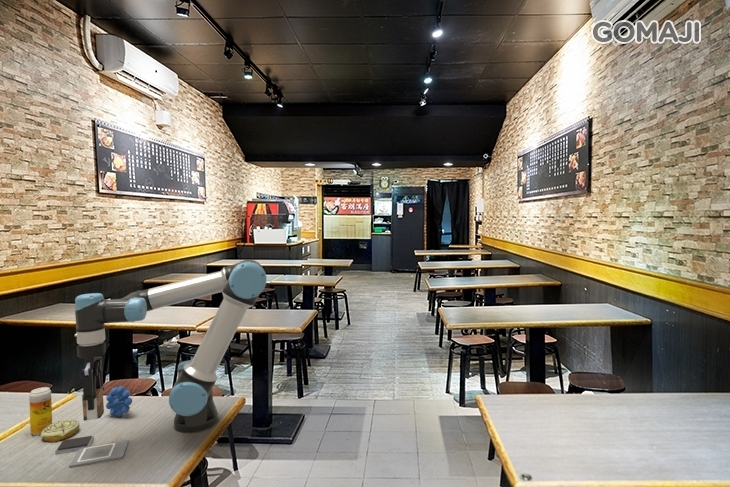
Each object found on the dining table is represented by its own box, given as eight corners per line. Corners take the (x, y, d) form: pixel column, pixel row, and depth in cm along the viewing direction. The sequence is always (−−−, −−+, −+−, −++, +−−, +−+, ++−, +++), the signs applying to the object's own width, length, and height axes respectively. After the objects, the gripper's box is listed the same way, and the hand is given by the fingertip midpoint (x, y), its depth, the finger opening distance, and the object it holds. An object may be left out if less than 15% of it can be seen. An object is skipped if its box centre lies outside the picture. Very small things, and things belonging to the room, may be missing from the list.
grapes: (140, 413, 161) (140, 383, 160) (126, 421, 154) (125, 389, 154) (116, 410, 164) (115, 380, 163) (101, 417, 157) (100, 386, 157)
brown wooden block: (104, 412, 135) (102, 388, 135) (100, 418, 131) (98, 393, 130) (87, 414, 133) (86, 390, 133) (83, 420, 129) (82, 395, 129)
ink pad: (93, 438, 142) (93, 434, 142) (88, 448, 135) (88, 444, 135) (62, 443, 139) (62, 439, 139) (55, 454, 132) (55, 450, 132)
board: (128, 441, 140) (128, 439, 140) (122, 458, 130) (122, 455, 130) (79, 449, 135) (79, 447, 135) (69, 467, 125) (69, 465, 125)
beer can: (40, 436, 143) (38, 394, 143) (26, 435, 144) (24, 392, 144) (56, 428, 149) (55, 387, 149) (42, 427, 150) (41, 386, 150)
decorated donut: (33, 444, 139) (33, 433, 139) (55, 428, 150) (55, 418, 150) (66, 442, 140) (65, 431, 140) (85, 427, 150) (85, 417, 150)
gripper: (85, 337, 138) (89, 406, 139) (67, 352, 122) (71, 430, 123) (111, 335, 141) (114, 402, 142) (97, 349, 124) (101, 425, 125)
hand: (94, 415), depth 132 cm, fingers closed on brown wooden block, 4 cm apart
